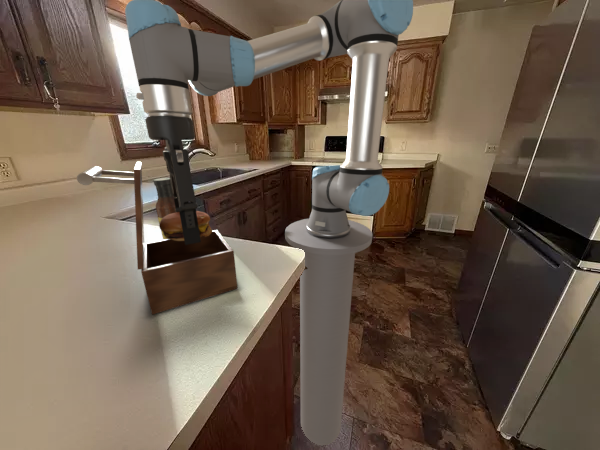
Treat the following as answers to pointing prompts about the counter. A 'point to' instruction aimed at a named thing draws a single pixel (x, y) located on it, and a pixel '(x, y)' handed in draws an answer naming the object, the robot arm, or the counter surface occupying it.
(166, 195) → the sauce bottle
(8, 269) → the counter surface
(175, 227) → the burger
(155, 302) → the brown wooden box
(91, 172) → the lid
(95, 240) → the counter surface
